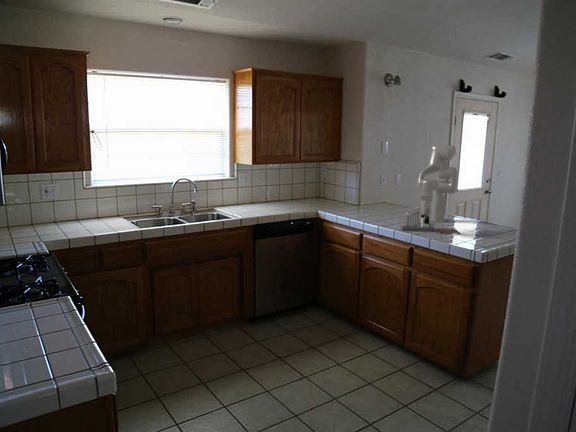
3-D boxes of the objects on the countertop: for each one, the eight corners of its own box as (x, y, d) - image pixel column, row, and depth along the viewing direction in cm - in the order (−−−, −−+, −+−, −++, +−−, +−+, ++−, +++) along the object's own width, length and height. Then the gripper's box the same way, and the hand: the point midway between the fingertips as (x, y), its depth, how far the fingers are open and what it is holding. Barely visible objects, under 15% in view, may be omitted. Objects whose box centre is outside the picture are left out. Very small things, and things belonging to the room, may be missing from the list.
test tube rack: (415, 223, 337) (417, 206, 334) (421, 224, 334) (422, 206, 331) (402, 229, 317) (403, 211, 315) (408, 229, 315) (409, 211, 312)
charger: (420, 229, 312) (421, 215, 310) (427, 229, 311) (428, 215, 309) (421, 230, 308) (422, 216, 306) (428, 230, 307) (429, 216, 305)
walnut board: (435, 229, 316) (435, 227, 315) (454, 229, 315) (454, 228, 314) (440, 233, 303) (440, 232, 303) (459, 234, 302) (460, 232, 302)
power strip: (400, 229, 314) (400, 224, 313) (431, 230, 313) (432, 225, 312) (402, 232, 307) (402, 226, 307) (434, 232, 306) (434, 227, 305)
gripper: (418, 196, 314) (416, 219, 317) (424, 200, 297) (422, 224, 300) (429, 196, 313) (427, 220, 316) (435, 200, 296) (433, 225, 299)
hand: (424, 222), depth 308 cm, fingers open, 9 cm apart
